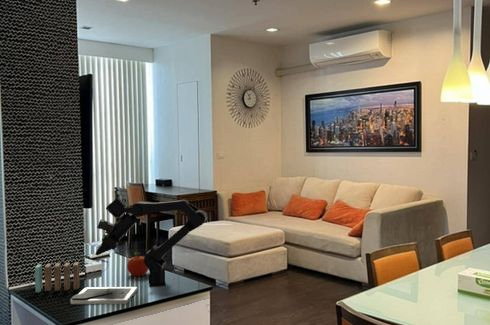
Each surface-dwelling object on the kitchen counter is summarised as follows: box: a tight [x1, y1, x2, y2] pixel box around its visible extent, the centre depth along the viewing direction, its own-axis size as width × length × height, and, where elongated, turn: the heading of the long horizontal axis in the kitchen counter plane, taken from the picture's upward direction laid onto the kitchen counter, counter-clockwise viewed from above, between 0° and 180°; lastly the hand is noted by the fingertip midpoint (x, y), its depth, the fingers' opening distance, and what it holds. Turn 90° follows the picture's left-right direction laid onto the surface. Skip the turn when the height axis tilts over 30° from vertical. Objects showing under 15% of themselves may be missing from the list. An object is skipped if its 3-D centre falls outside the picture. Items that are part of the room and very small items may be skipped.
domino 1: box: [34, 263, 43, 293], centre depth 189 cm, size 2×5×10 cm, turn 12°
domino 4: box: [63, 262, 71, 291], centre depth 191 cm, size 2×5×10 cm, turn 12°
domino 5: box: [72, 261, 81, 291], centre depth 192 cm, size 2×5×10 cm, turn 12°
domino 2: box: [44, 263, 53, 293], centre depth 190 cm, size 2×5×10 cm, turn 12°
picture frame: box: [70, 286, 138, 305], centre depth 180 cm, size 16×3×21 cm
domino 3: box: [53, 262, 62, 292], centre depth 191 cm, size 2×5×10 cm, turn 12°
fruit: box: [126, 251, 149, 277], centre depth 210 cm, size 10×10×10 cm
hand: (96, 253), depth 194 cm, fingers open, 3 cm apart
